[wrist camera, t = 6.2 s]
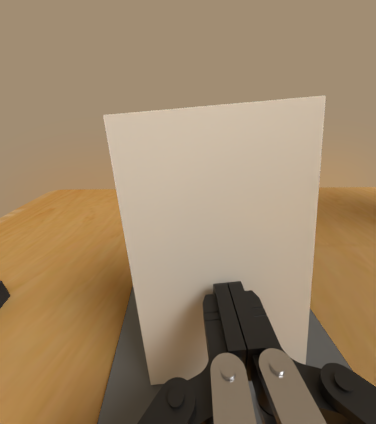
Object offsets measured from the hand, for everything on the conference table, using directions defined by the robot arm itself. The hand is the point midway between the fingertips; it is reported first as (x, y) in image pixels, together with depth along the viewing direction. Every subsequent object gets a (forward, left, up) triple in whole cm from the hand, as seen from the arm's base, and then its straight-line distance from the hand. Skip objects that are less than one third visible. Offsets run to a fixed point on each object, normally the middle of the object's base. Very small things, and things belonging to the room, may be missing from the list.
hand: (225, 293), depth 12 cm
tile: (0, 0, -7) cm, 7 cm away
